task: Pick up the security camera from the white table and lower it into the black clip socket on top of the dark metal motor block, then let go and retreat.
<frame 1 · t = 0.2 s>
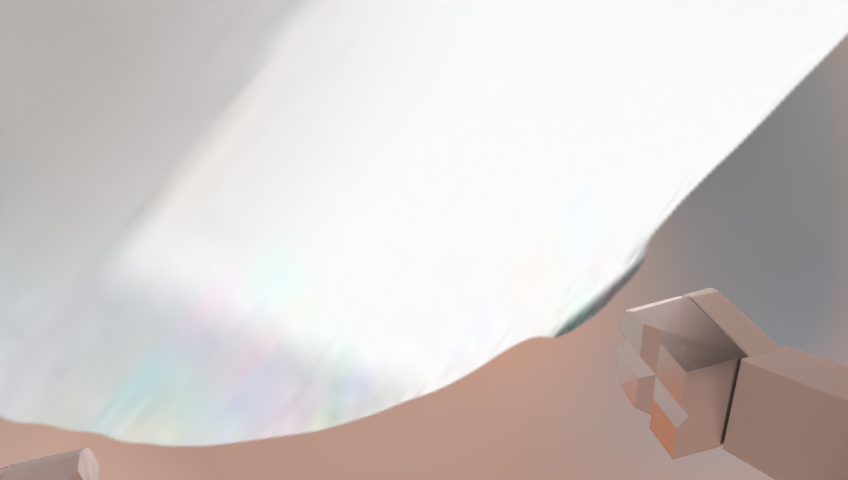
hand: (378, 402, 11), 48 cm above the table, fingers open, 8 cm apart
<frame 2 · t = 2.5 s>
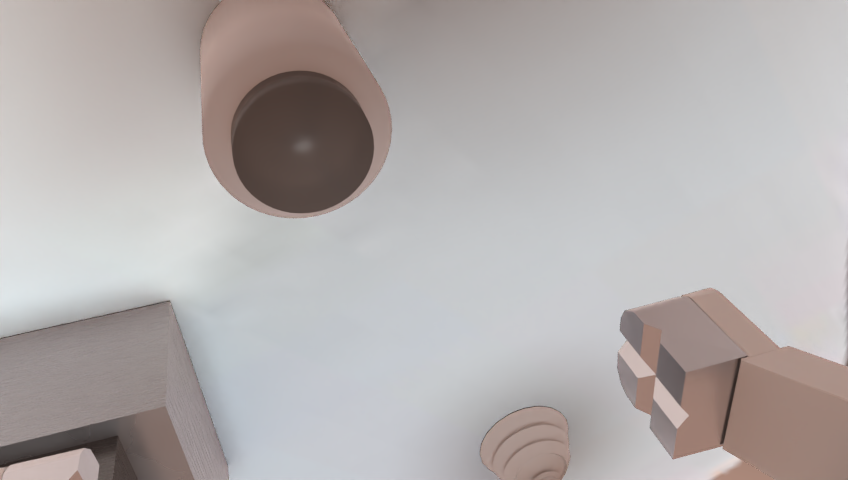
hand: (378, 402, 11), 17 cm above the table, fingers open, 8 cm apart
chalice: (523, 438, 39), on the table
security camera: (275, 56, 25), on the table
motor block: (57, 426, 31), on the table
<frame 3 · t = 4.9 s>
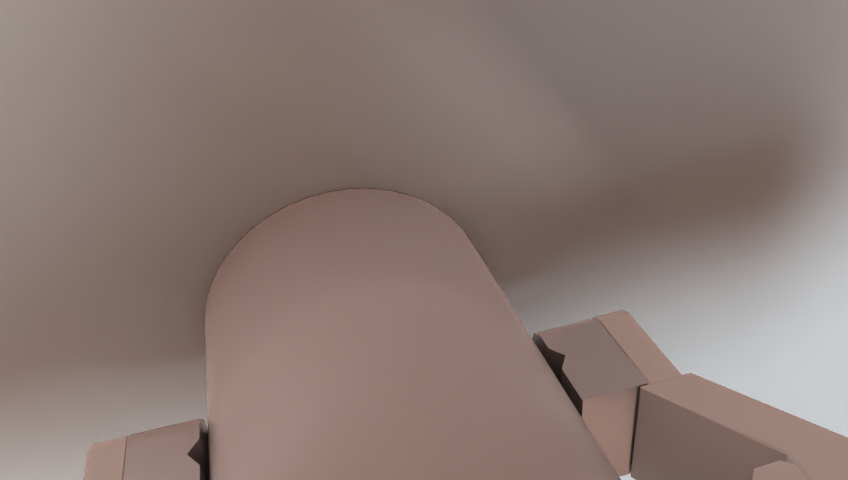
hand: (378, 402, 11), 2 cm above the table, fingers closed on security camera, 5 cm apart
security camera: (351, 313, 13), on the table, touching gripper
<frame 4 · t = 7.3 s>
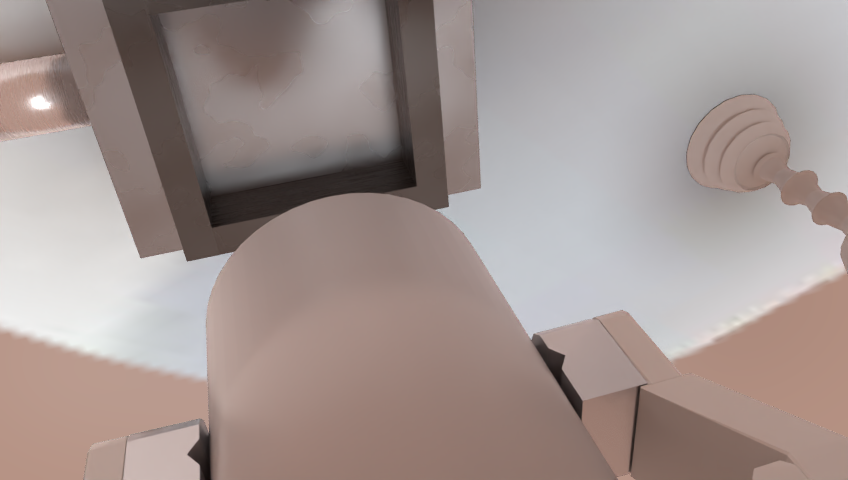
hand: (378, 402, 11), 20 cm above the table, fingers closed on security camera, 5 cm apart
chalice: (730, 141, 36), on the table
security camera: (352, 317, 13), point 18 cm above the table, touching gripper
motor block: (274, 31, 27), on the table
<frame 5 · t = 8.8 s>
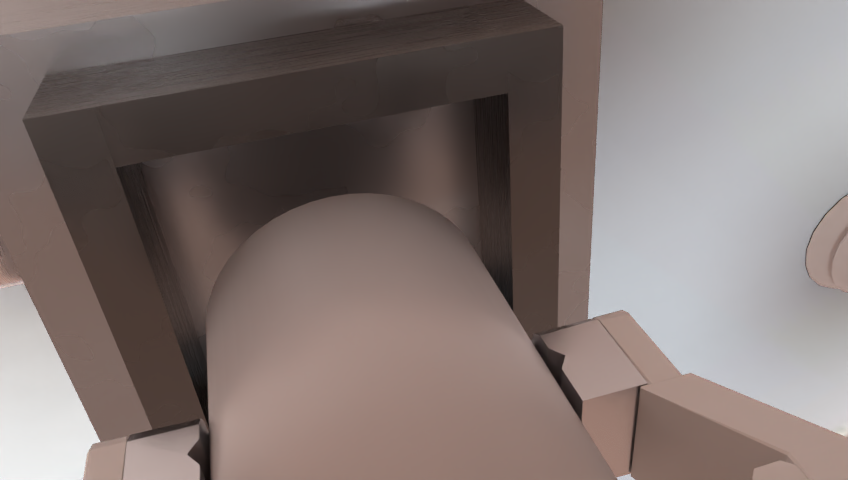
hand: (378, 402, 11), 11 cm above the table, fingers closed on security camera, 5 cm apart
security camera: (351, 318, 13), point 9 cm above the table, touching gripper
motor block: (298, 125, 20), on the table
when the fingers open (10 cm above the table, at t = 10.0 s): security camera drops 1 cm, resting on motor block.
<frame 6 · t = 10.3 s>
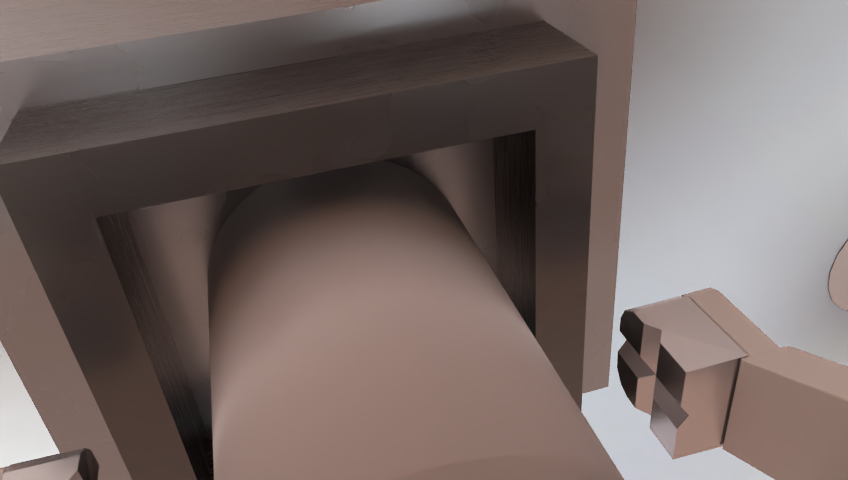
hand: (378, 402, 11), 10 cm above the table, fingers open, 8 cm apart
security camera: (342, 275, 14), point 6 cm above the table, touching motor block
motor block: (298, 150, 19), on the table
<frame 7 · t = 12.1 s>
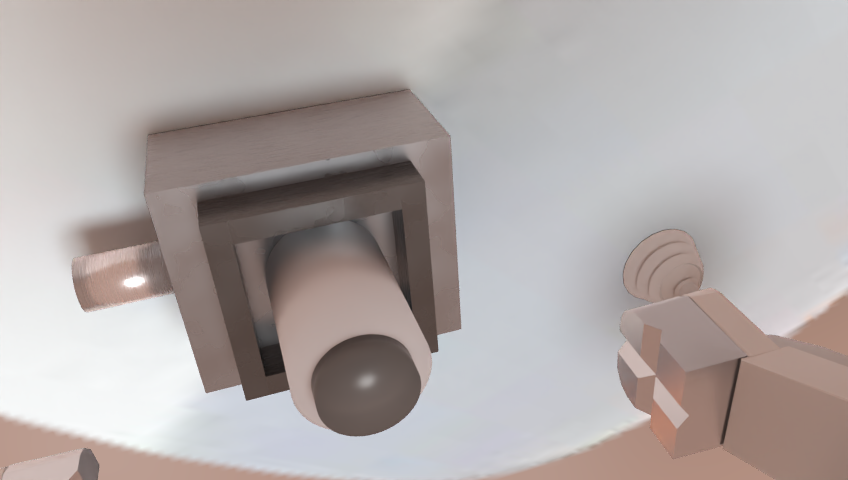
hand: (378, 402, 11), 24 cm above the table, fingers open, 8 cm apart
chalice: (658, 263, 45), on the table
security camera: (325, 270, 31), point 6 cm above the table, touching motor block
motor block: (301, 206, 36), on the table
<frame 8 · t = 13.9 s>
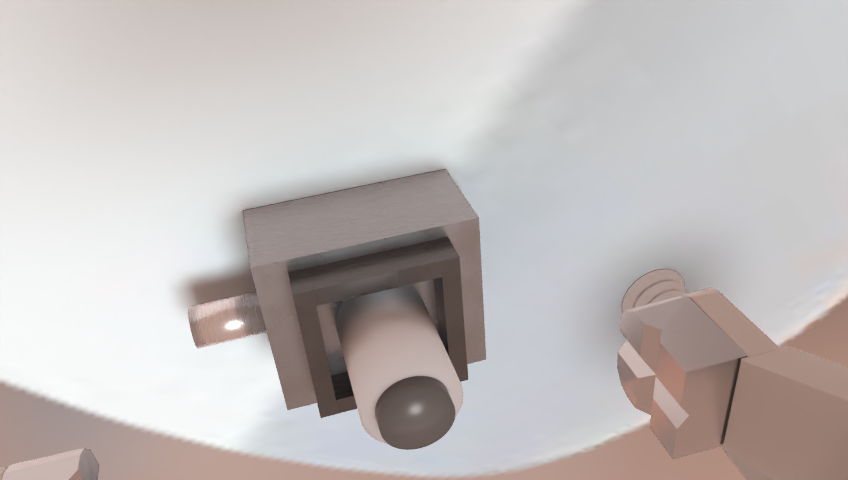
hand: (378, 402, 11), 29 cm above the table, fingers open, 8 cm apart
chalice: (651, 296, 53), on the table
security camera: (381, 317, 40), point 6 cm above the table, touching motor block
motor block: (358, 259, 45), on the table
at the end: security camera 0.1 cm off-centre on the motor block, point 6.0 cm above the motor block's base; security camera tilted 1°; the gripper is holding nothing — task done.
